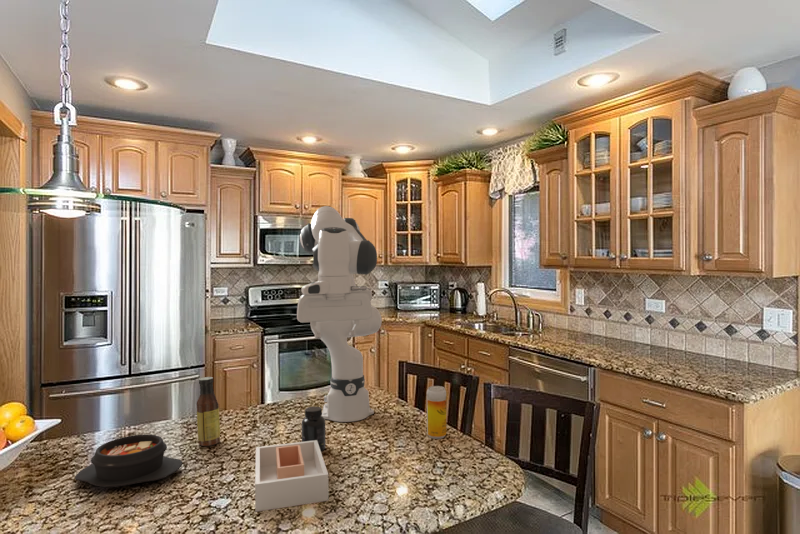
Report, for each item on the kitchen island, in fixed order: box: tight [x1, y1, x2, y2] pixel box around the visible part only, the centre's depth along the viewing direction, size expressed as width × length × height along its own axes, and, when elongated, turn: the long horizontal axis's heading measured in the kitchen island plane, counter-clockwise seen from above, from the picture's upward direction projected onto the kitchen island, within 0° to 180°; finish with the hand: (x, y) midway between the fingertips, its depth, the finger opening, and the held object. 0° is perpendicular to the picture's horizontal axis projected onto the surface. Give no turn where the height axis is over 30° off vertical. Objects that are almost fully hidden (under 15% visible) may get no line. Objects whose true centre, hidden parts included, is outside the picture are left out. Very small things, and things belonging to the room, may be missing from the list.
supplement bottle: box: [301, 406, 326, 453], centre depth 137 cm, size 7×7×12 cm
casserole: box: [74, 434, 183, 488], centre depth 121 cm, size 25×19×8 cm
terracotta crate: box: [276, 445, 304, 479], centre depth 116 cm, size 13×6×6 cm, turn 16°
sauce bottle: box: [196, 376, 221, 447], centre depth 143 cm, size 7×6×20 cm
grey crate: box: [254, 440, 330, 512], centre depth 116 cm, size 22×16×6 cm
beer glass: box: [426, 385, 448, 440], centre depth 147 cm, size 6×6×15 cm
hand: (335, 337), depth 128 cm, fingers open, 8 cm apart
